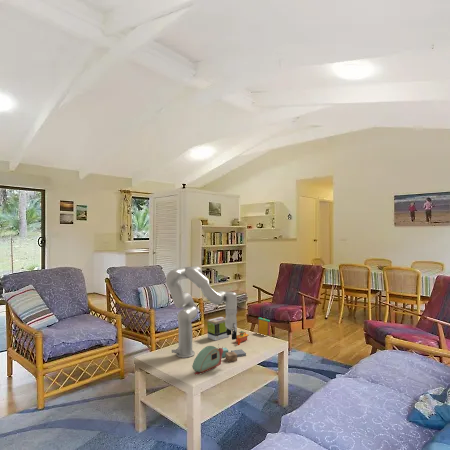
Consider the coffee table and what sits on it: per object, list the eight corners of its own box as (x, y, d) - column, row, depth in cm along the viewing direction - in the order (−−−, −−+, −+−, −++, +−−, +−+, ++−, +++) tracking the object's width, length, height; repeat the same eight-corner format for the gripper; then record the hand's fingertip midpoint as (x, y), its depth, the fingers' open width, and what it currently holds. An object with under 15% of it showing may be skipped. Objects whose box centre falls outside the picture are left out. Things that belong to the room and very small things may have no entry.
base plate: (235, 358, 229) (235, 354, 229) (230, 354, 236) (230, 350, 236) (246, 357, 231) (246, 353, 231) (241, 352, 239) (241, 349, 239)
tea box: (221, 333, 281) (221, 316, 281) (229, 337, 273) (229, 318, 273) (207, 337, 271) (207, 319, 271) (214, 341, 263) (214, 322, 263)
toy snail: (199, 377, 200) (199, 354, 200) (190, 373, 205) (190, 351, 205) (227, 364, 219) (227, 343, 219) (218, 361, 224) (218, 340, 224)
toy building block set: (270, 336, 275) (270, 319, 275) (240, 346, 252) (240, 327, 252) (259, 332, 284) (259, 315, 284) (228, 342, 261) (228, 323, 261)
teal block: (221, 358, 229) (221, 351, 229) (219, 355, 234) (219, 348, 234) (228, 357, 231) (228, 350, 231) (225, 354, 235) (225, 347, 235)
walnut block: (228, 363, 220) (228, 355, 220) (225, 360, 226) (225, 352, 226) (237, 362, 222) (237, 354, 222) (233, 359, 228) (233, 351, 228)
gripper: (221, 308, 231) (222, 334, 231) (230, 314, 215) (230, 341, 215) (231, 307, 234) (232, 332, 234) (241, 313, 217) (241, 340, 217)
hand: (231, 337), depth 224 cm, fingers open, 9 cm apart
